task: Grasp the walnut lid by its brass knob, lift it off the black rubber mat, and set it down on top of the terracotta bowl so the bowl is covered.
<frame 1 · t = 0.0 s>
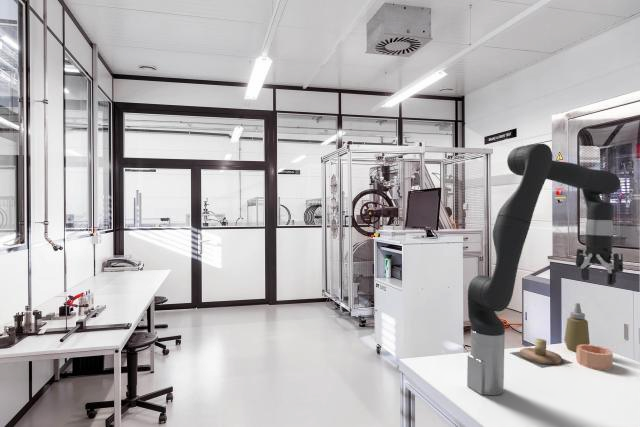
hand: (597, 282, 133), 29 cm above the table, fingers open, 8 cm apart
mat: (540, 359, 143), on the table
squeeze bottle: (576, 351, 151), on the table
lid: (540, 357, 143), resting on mat
bowl: (594, 365, 138), on the table
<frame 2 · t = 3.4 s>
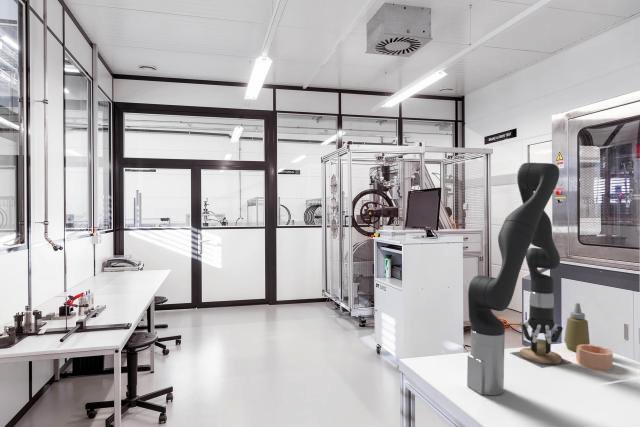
hand: (540, 352, 143), 2 cm above the table, fingers closed on lid, 3 cm apart
lid: (540, 357, 143), resting on mat, touching gripper
everything else where it was.
when the fingers open (8 cm above the table, at t = 8.5 s): lid stays where it is, resting on bowl.
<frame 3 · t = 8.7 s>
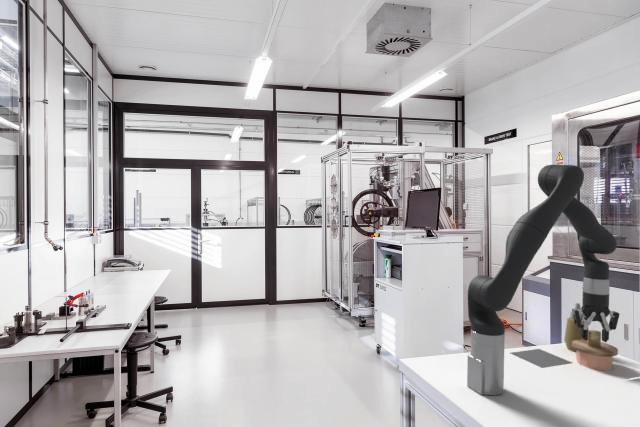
hand: (594, 340, 137), 9 cm above the table, fingers open, 5 cm apart
lid: (594, 349, 137), point 5 cm above the table, touching bowl
everything else where it was.
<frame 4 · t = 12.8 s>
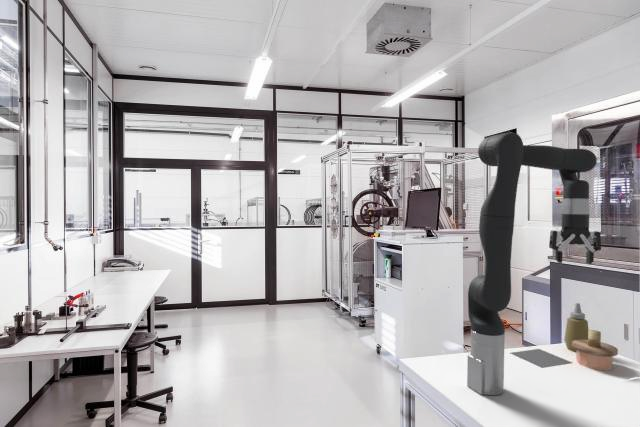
hand: (574, 263, 129), 36 cm above the table, fingers open, 8 cm apart
nothing on the table moved.
at the end: lid 0.1 cm off-centre on the bowl, point 5.5 cm above the bowl's base; lid tilted 0°; the gripper is holding nothing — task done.
